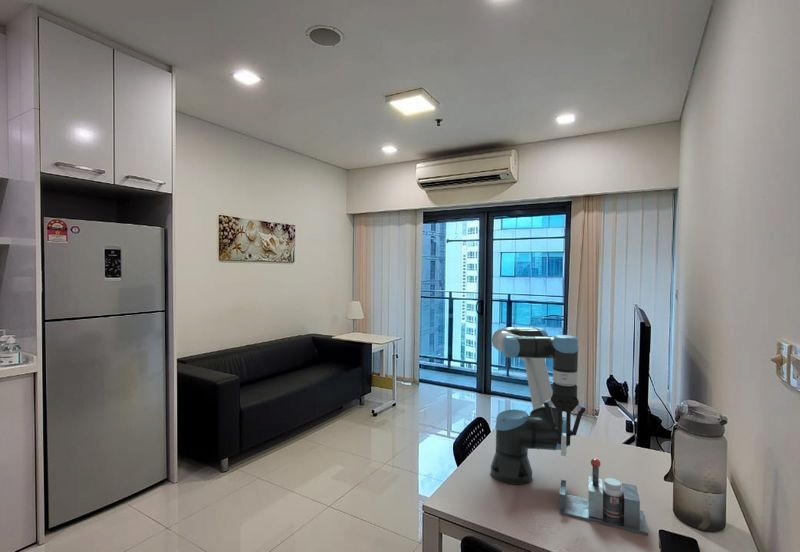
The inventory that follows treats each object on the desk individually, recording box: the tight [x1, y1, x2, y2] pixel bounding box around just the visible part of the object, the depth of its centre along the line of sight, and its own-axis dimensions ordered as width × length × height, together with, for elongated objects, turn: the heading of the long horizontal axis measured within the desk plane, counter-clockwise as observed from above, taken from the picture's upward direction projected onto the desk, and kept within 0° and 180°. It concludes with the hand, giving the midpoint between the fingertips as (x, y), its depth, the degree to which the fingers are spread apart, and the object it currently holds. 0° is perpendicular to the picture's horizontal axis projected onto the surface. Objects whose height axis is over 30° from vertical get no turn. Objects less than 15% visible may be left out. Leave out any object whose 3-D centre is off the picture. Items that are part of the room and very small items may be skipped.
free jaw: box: [587, 458, 604, 519], centre depth 128 cm, size 4×10×16 cm, turn 155°
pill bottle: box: [603, 477, 623, 518], centre depth 126 cm, size 6×6×10 cm
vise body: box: [558, 479, 649, 536], centre depth 127 cm, size 24×12×9 cm, turn 65°
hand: (563, 454), depth 132 cm, fingers closed
